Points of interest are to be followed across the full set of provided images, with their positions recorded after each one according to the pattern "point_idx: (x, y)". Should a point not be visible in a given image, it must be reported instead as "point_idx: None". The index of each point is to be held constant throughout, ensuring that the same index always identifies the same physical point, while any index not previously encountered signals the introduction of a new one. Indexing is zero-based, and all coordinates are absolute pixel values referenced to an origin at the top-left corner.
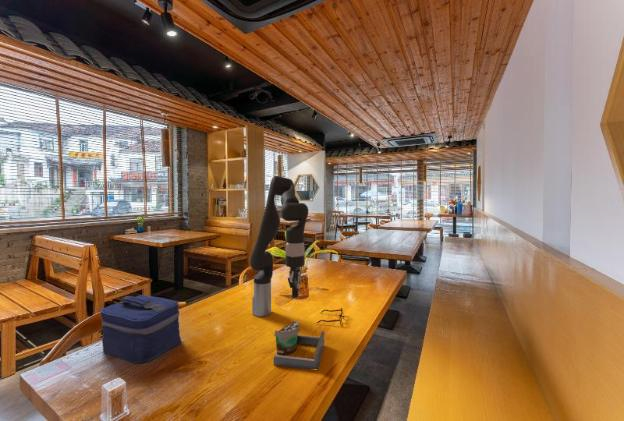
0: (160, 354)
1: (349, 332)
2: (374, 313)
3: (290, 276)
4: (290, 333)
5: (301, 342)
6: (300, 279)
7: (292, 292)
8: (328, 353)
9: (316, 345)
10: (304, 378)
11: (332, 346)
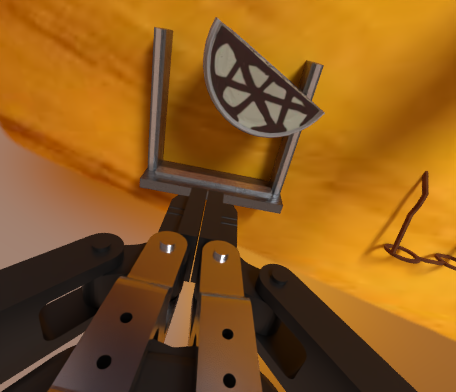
0: None
1: (337, 257)
2: (430, 325)
3: (53, 390)
4: (213, 102)
5: None
6: (301, 360)
7: (184, 209)
8: None
9: (273, 169)
10: (116, 132)
11: None
